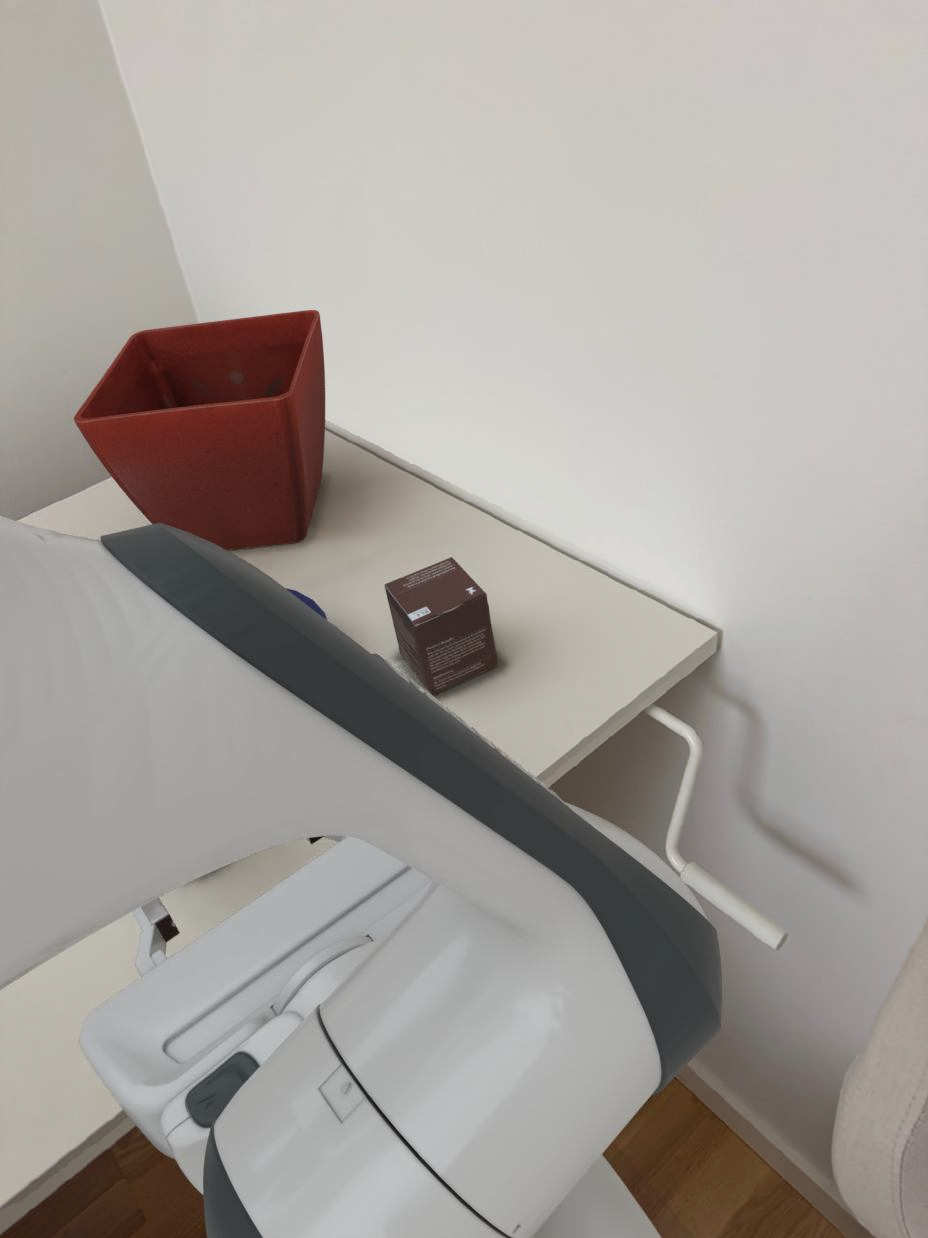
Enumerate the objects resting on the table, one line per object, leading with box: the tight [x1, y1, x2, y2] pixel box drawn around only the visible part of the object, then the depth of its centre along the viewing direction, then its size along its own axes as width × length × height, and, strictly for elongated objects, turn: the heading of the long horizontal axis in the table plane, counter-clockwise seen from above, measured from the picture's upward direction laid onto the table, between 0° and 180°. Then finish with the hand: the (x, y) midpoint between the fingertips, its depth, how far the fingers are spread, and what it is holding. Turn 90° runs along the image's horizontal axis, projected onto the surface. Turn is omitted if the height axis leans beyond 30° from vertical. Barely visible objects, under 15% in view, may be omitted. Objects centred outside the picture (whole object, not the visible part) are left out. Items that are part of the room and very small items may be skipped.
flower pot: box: [73, 309, 326, 551], centre depth 92 cm, size 19×19×17 cm
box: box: [384, 556, 499, 696], centre depth 73 cm, size 6×6×7 cm
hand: (228, 857), depth 51 cm, fingers open, 8 cm apart
